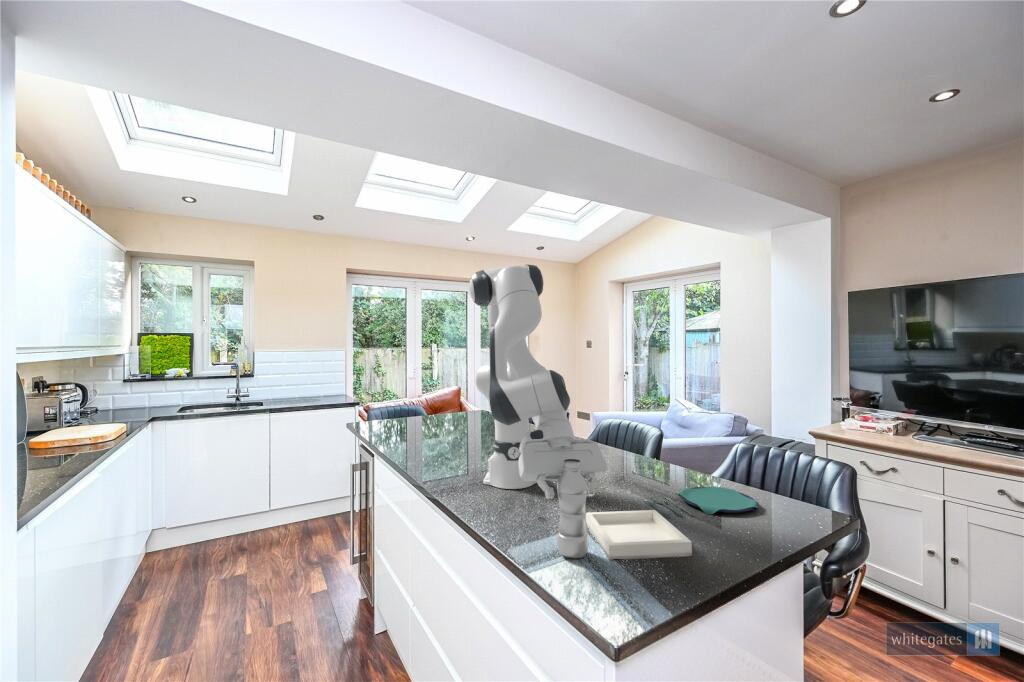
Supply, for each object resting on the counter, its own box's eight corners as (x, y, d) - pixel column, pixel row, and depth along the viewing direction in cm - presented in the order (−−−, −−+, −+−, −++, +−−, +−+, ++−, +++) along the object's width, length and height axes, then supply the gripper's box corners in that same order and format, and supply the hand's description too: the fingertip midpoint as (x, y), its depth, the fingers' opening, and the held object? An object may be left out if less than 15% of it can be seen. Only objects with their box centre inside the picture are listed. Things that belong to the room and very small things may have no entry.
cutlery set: (774, 515, 114) (774, 506, 114) (669, 524, 109) (669, 515, 109) (726, 491, 133) (726, 483, 133) (635, 497, 129) (635, 490, 129)
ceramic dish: (585, 524, 107) (585, 512, 107) (655, 521, 109) (654, 509, 109) (609, 560, 89) (609, 545, 89) (691, 556, 91) (691, 541, 91)
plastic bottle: (585, 564, 87) (585, 466, 88) (553, 559, 90) (553, 463, 90) (591, 550, 93) (590, 458, 94) (560, 545, 96) (560, 455, 96)
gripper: (591, 446, 106) (609, 500, 97) (512, 448, 101) (522, 505, 91) (600, 432, 102) (620, 486, 93) (518, 433, 97) (530, 491, 87)
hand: (571, 496), depth 92 cm, fingers open, 8 cm apart
